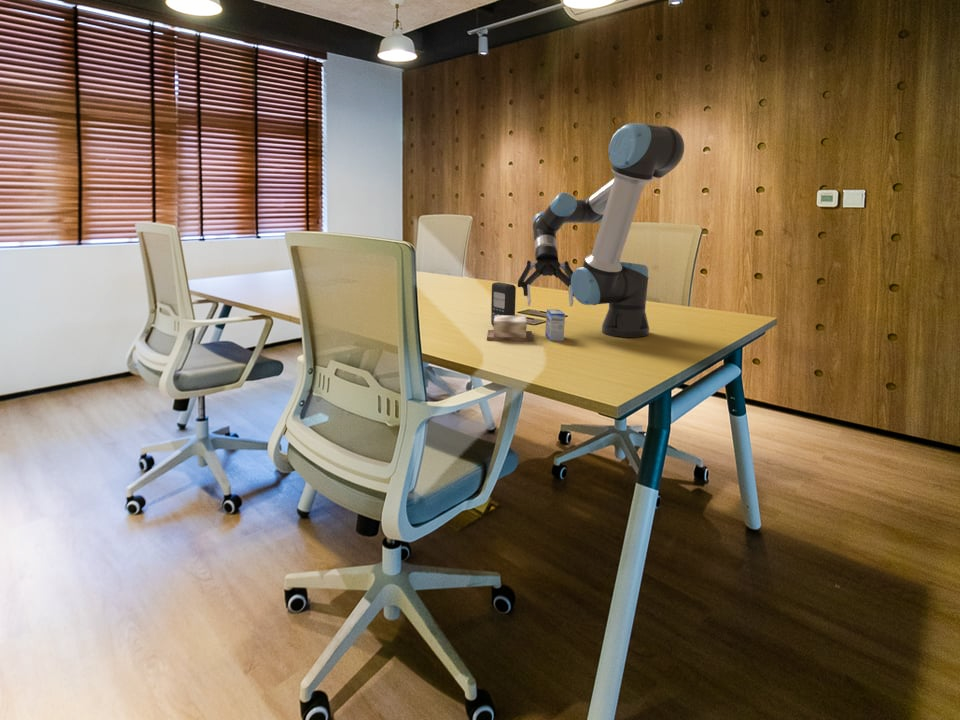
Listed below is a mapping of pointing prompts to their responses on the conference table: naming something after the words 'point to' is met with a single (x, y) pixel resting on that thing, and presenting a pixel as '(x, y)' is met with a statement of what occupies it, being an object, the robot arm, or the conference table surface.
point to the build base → (510, 329)
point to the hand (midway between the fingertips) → (550, 303)
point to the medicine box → (555, 325)
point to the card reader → (502, 300)
